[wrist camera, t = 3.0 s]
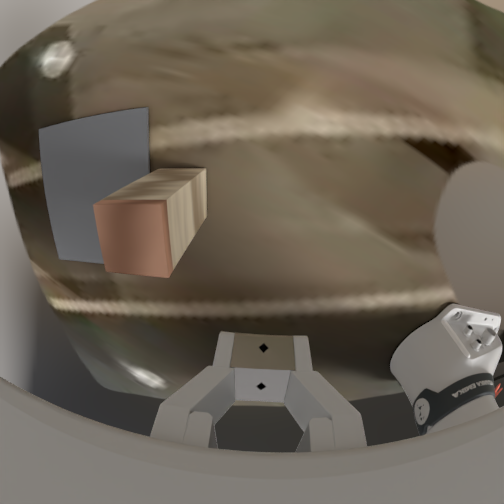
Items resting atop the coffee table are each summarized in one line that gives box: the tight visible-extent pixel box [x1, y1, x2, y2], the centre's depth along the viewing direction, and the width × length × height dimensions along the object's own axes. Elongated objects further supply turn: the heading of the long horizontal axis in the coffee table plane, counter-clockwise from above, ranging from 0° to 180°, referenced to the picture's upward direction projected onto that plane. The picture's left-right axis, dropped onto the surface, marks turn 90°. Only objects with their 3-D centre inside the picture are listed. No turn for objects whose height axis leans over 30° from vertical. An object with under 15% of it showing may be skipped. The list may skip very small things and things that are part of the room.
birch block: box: [93, 168, 207, 278], centre depth 22 cm, size 5×5×12 cm
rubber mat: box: [39, 107, 150, 264], centre depth 28 cm, size 16×18×1 cm
